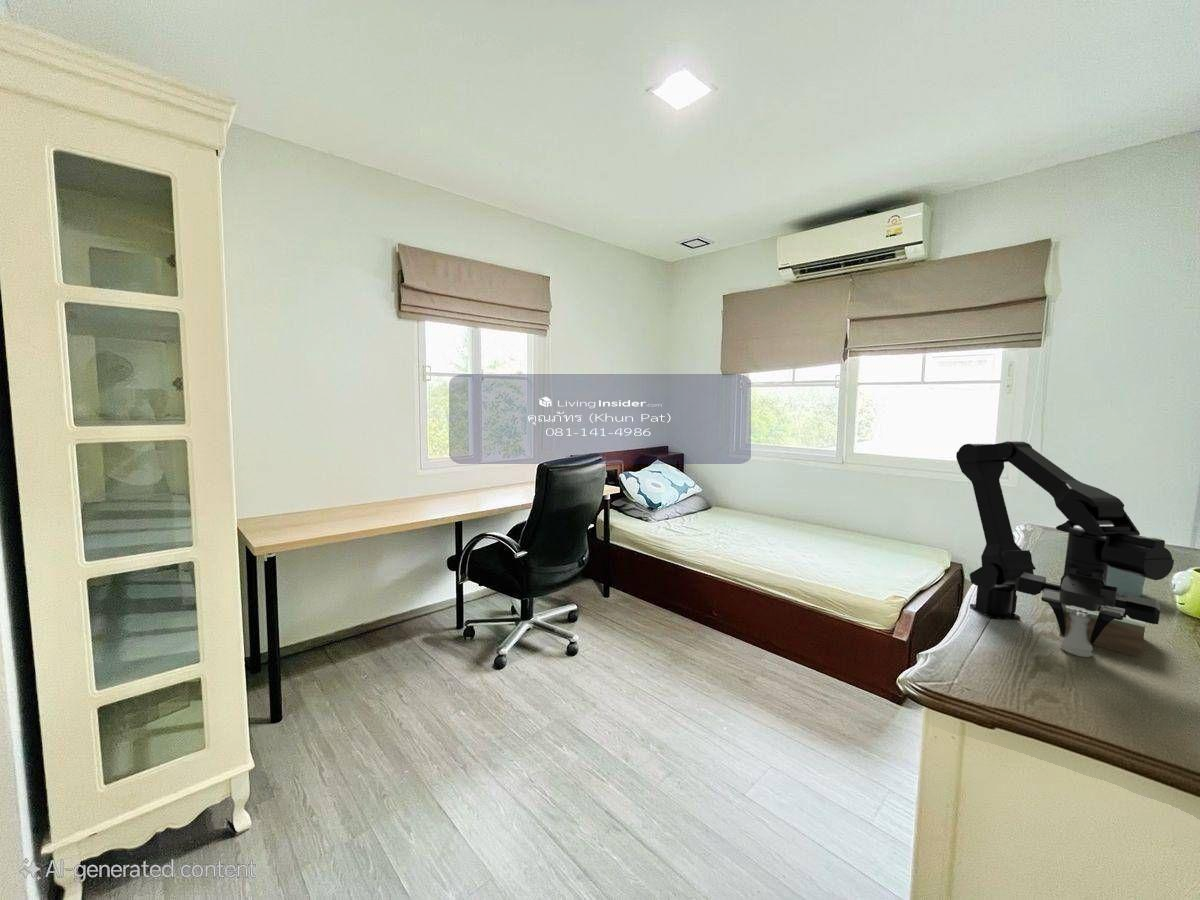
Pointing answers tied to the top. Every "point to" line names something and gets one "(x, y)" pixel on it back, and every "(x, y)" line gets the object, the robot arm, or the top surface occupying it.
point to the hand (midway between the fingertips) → (1077, 638)
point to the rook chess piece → (1078, 635)
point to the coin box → (1115, 632)
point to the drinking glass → (1125, 582)
